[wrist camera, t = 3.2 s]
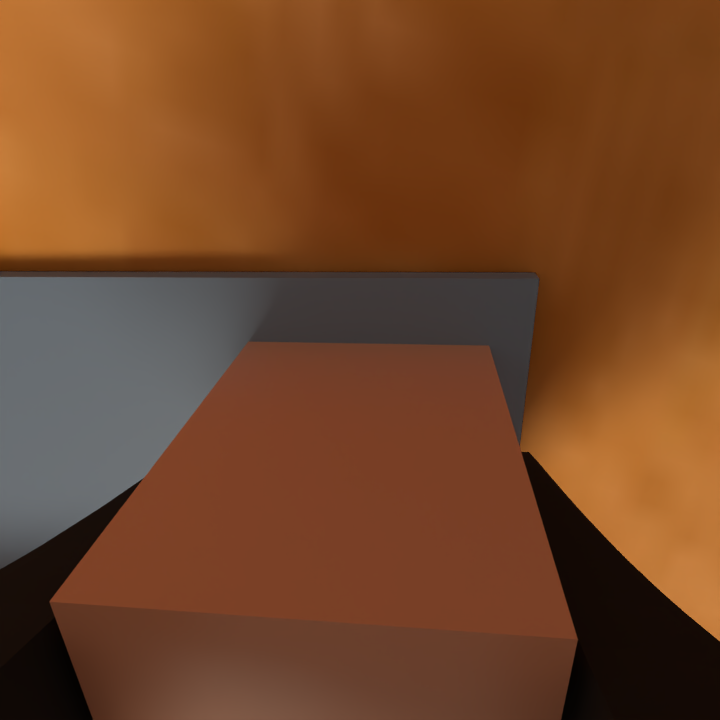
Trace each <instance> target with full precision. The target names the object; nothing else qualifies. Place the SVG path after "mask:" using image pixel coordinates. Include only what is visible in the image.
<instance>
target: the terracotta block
mask: <svg viewBox="0 0 720 720" xmlns="http://www.w3.org/2000/svg"><path fill="white" fill-rule="evenodd" d="M49 602H50V605H51V608H52V610H53V613H54V616H55V618H56V621H57V624H58V626H59V629H60V632H61V635H62V637H63V640H64V643H65V645H66V648H67V651H68V653H69V656H70V659H71V662H72V664H73V667H74V670H75V672H76V675H77V678H78V680H79V683H80V686H81V688H82V691H83V694H84V697H85V699H86V702H87V705H88V707H89V710H90V713H91V715H92V718H93V720H561V718H562V713H563V708H564V703H565V698H566V694H567V689H568V684H569V679H570V674H571V670H572V665H573V660H574V655H575V650H576V646H577V641H578V638H577V635H576V632H575V628H574V625H573V622H572V618H571V615H570V612H569V609H568V605H567V602H566V599H565V595H564V592H563V589H562V585H561V582H560V579H559V575H558V572H557V569H556V566H555V562H554V559H553V556H552V552H551V549H550V546H549V542H548V539H547V536H546V532H545V529H544V526H543V522H542V519H541V516H540V513H539V509H538V506H537V503H536V499H535V496H534V493H533V489H532V486H531V483H530V479H529V476H528V473H527V469H526V466H525V463H524V460H523V456H522V453H521V450H520V446H519V443H518V440H517V436H516V433H515V430H514V426H513V423H512V420H511V417H510V413H509V410H508V407H507V403H506V400H505V397H504V393H503V390H502V387H501V383H500V380H499V377H498V373H497V370H496V367H495V364H494V360H493V357H492V354H491V350H490V347H489V346H488V345H426V344H365V343H303V342H248V343H247V344H246V345H245V347H244V348H243V349H242V351H241V352H240V353H239V354H238V356H237V357H236V358H235V360H234V361H233V362H232V364H231V365H230V366H229V367H228V369H227V370H226V371H225V373H224V374H223V375H222V377H221V378H220V379H219V381H218V382H217V383H216V384H215V386H214V387H213V388H212V390H211V391H210V392H209V394H208V395H207V396H206V398H205V399H204V400H203V401H202V403H201V404H200V405H199V407H198V408H197V409H196V411H195V412H194V413H193V415H192V416H191V417H190V418H189V420H188V421H187V422H186V424H185V425H184V426H183V428H182V429H181V430H180V432H179V433H178V434H177V435H176V437H175V438H174V439H173V441H172V442H171V443H170V445H169V446H168V447H167V449H166V450H165V451H164V452H163V454H162V455H161V456H160V458H159V459H158V460H157V462H156V463H155V464H154V465H153V467H152V468H151V469H150V471H149V472H148V473H147V475H146V476H145V477H144V479H143V480H142V481H141V482H140V484H139V485H138V486H137V488H136V489H135V490H134V492H133V493H132V494H131V496H130V497H129V498H128V499H127V501H126V502H125V503H124V505H123V506H122V507H121V509H120V510H119V511H118V513H117V514H116V515H115V516H114V518H113V519H112V520H111V522H110V523H109V524H108V526H107V527H106V528H105V530H104V531H103V532H102V533H101V535H100V536H99V537H98V539H97V540H96V541H95V543H94V544H93V545H92V547H91V548H90V549H89V550H88V552H87V553H86V554H85V556H84V557H83V558H82V560H81V561H80V562H79V564H78V565H77V566H76V567H75V569H74V570H73V571H72V573H71V574H70V575H69V577H68V578H67V579H66V580H65V582H64V583H63V584H62V586H61V587H60V588H59V590H58V591H57V592H56V594H55V595H54V596H53V597H52V599H51V600H50V601H49Z"/></svg>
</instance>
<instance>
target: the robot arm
mask: <svg viewBox="0 0 720 720" xmlns="http://www.w3.org/2000/svg"><path fill="white" fill-rule="evenodd" d="M521 453H522V456H523V460H524V463H525V466H526V469H527V473H528V476H529V479H530V483H531V486H532V489H533V493H534V496H535V499H536V503H537V506H538V509H539V513H540V516H541V519H542V522H543V526H544V529H545V532H546V536H547V539H548V542H549V546H550V549H551V552H552V556H553V559H554V562H555V566H556V569H557V572H558V575H559V579H560V582H561V585H562V589H563V592H564V595H565V599H566V602H567V605H568V609H569V612H570V615H571V618H572V622H573V625H574V628H575V632H576V635H577V638H578V641H577V646H576V650H575V655H574V660H573V665H572V670H571V674H570V679H569V684H568V689H567V694H566V698H565V703H564V708H563V713H562V718H561V720H720V641H718V640H717V639H716V638H715V637H714V636H712V635H711V634H710V633H709V632H707V631H706V630H705V629H704V628H703V627H701V626H700V625H699V624H698V623H697V622H695V621H694V620H693V619H692V618H691V617H689V616H688V615H687V614H686V613H685V612H683V611H682V610H681V609H680V608H679V607H678V606H677V605H675V604H674V603H673V602H672V601H671V600H670V599H669V598H667V597H666V596H665V595H664V594H663V593H662V592H661V591H660V590H659V589H657V588H656V587H655V586H654V585H653V584H652V583H651V582H650V581H649V580H648V579H647V578H646V577H645V576H644V575H643V574H642V573H641V572H640V571H638V570H637V569H636V568H635V567H634V566H633V565H632V564H631V563H630V562H629V561H628V560H627V559H626V558H625V557H624V556H623V555H622V554H621V553H620V552H619V551H618V550H617V549H616V548H615V547H614V546H613V545H612V544H611V543H610V542H609V541H608V540H607V539H606V538H605V537H604V536H603V534H602V533H601V532H600V531H599V530H598V529H597V528H596V527H595V526H594V525H593V524H592V523H591V522H590V521H589V520H588V519H587V518H586V516H585V515H584V514H583V513H582V512H581V511H580V510H579V509H578V508H577V507H576V505H575V504H574V503H573V502H572V501H571V500H570V499H569V498H568V496H567V495H566V494H565V493H564V492H563V491H562V490H561V488H560V487H559V486H558V485H557V484H556V483H555V481H554V480H553V479H552V478H551V477H550V476H549V474H548V473H547V472H546V471H545V470H544V469H543V467H542V466H541V465H540V464H539V463H538V462H537V460H536V459H535V458H534V457H533V456H532V455H531V454H530V453H529V452H521ZM143 479H144V478H143ZM143 479H141V480H140V481H139V482H137V483H136V484H134V485H133V486H131V487H130V488H128V489H127V490H125V491H124V492H123V493H121V494H120V495H118V496H117V497H115V498H114V499H112V500H111V501H110V502H108V503H107V504H105V505H104V506H102V507H101V508H99V509H98V510H96V511H94V512H93V513H91V514H90V515H88V516H87V517H85V518H83V519H82V520H80V521H79V522H77V523H76V524H74V525H72V526H71V527H69V528H68V529H66V530H65V531H63V532H61V533H60V534H58V535H57V536H55V537H54V538H52V539H50V540H49V541H47V542H46V543H44V544H43V545H41V546H39V547H38V548H36V549H34V550H33V551H31V552H29V553H27V554H26V555H24V556H22V557H21V558H19V559H17V560H15V561H14V562H12V563H10V564H8V565H7V566H5V567H3V568H1V569H0V720H93V718H92V715H91V713H90V710H89V707H88V705H87V702H86V699H85V697H84V694H83V691H82V688H81V686H80V683H79V680H78V678H77V675H76V672H75V670H74V667H73V664H72V662H71V659H70V656H69V653H68V651H67V648H66V645H65V643H64V640H63V637H62V635H61V632H60V629H59V626H58V624H57V621H56V618H55V616H54V613H53V610H52V608H51V605H50V602H49V601H50V600H51V599H52V597H53V596H54V595H55V594H56V592H57V591H58V590H59V588H60V587H61V586H62V584H63V583H64V582H65V580H66V579H67V578H68V577H69V575H70V574H71V573H72V571H73V570H74V569H75V567H76V566H77V565H78V564H79V562H80V561H81V560H82V558H83V557H84V556H85V554H86V553H87V552H88V550H89V549H90V548H91V547H92V545H93V544H94V543H95V541H96V540H97V539H98V537H99V536H100V535H101V533H102V532H103V531H104V530H105V528H106V527H107V526H108V524H109V523H110V522H111V520H112V519H113V518H114V516H115V515H116V514H117V513H118V511H119V510H120V509H121V507H122V506H123V505H124V503H125V502H126V501H127V499H128V498H129V497H130V496H131V494H132V493H133V492H134V490H135V489H136V488H137V486H138V485H139V484H140V482H141V481H142V480H143Z"/></svg>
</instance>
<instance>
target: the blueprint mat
mask: <svg viewBox="0 0 720 720" xmlns="http://www.w3.org/2000/svg"><path fill="white" fill-rule="evenodd" d="M538 286H539V277H538V276H537V275H536V273H529V272H73V271H0V569H1V568H3V567H5V566H7V565H8V564H10V563H12V562H14V561H15V560H17V559H19V558H21V557H22V556H24V555H26V554H27V553H29V552H31V551H33V550H34V549H36V548H38V547H39V546H41V545H43V544H44V543H46V542H47V541H49V540H50V539H52V538H54V537H55V536H57V535H58V534H60V533H61V532H63V531H65V530H66V529H68V528H69V527H71V526H72V525H74V524H76V523H77V522H79V521H80V520H82V519H83V518H85V517H87V516H88V515H90V514H91V513H93V512H94V511H96V510H98V509H99V508H101V507H102V506H104V505H105V504H107V503H108V502H110V501H111V500H112V499H114V498H115V497H117V496H118V495H120V494H121V493H123V492H124V491H125V490H127V489H128V488H130V487H131V486H133V485H134V484H136V483H137V482H139V481H140V480H141V479H143V478H144V477H145V476H146V475H147V473H148V472H149V471H150V469H151V468H152V467H153V465H154V464H155V463H156V462H157V460H158V459H159V458H160V456H161V455H162V454H163V452H164V451H165V450H166V449H167V447H168V446H169V445H170V443H171V442H172V441H173V439H174V438H175V437H176V435H177V434H178V433H179V432H180V430H181V429H182V428H183V426H184V425H185V424H186V422H187V421H188V420H189V418H190V417H191V416H192V415H193V413H194V412H195V411H196V409H197V408H198V407H199V405H200V404H201V403H202V401H203V400H204V399H205V398H206V396H207V395H208V394H209V392H210V391H211V390H212V388H213V387H214V386H215V384H216V383H217V382H218V381H219V379H220V378H221V377H222V375H223V374H224V373H225V371H226V370H227V369H228V367H229V366H230V365H231V364H232V362H233V361H234V360H235V358H236V357H237V356H238V354H239V353H240V352H241V351H242V349H243V348H244V347H245V345H246V344H247V343H248V342H303V343H365V344H426V345H488V346H489V347H490V350H491V354H492V357H493V360H494V364H495V367H496V370H497V373H498V377H499V380H500V383H501V387H502V390H503V393H504V397H505V400H506V403H507V407H508V410H509V413H510V417H511V420H512V423H513V426H514V430H515V433H516V436H517V440H518V443H519V446H520V440H521V431H522V423H523V414H524V405H525V397H526V388H527V380H528V371H529V363H530V354H531V346H532V337H533V329H534V320H535V312H536V303H537V295H538Z"/></svg>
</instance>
